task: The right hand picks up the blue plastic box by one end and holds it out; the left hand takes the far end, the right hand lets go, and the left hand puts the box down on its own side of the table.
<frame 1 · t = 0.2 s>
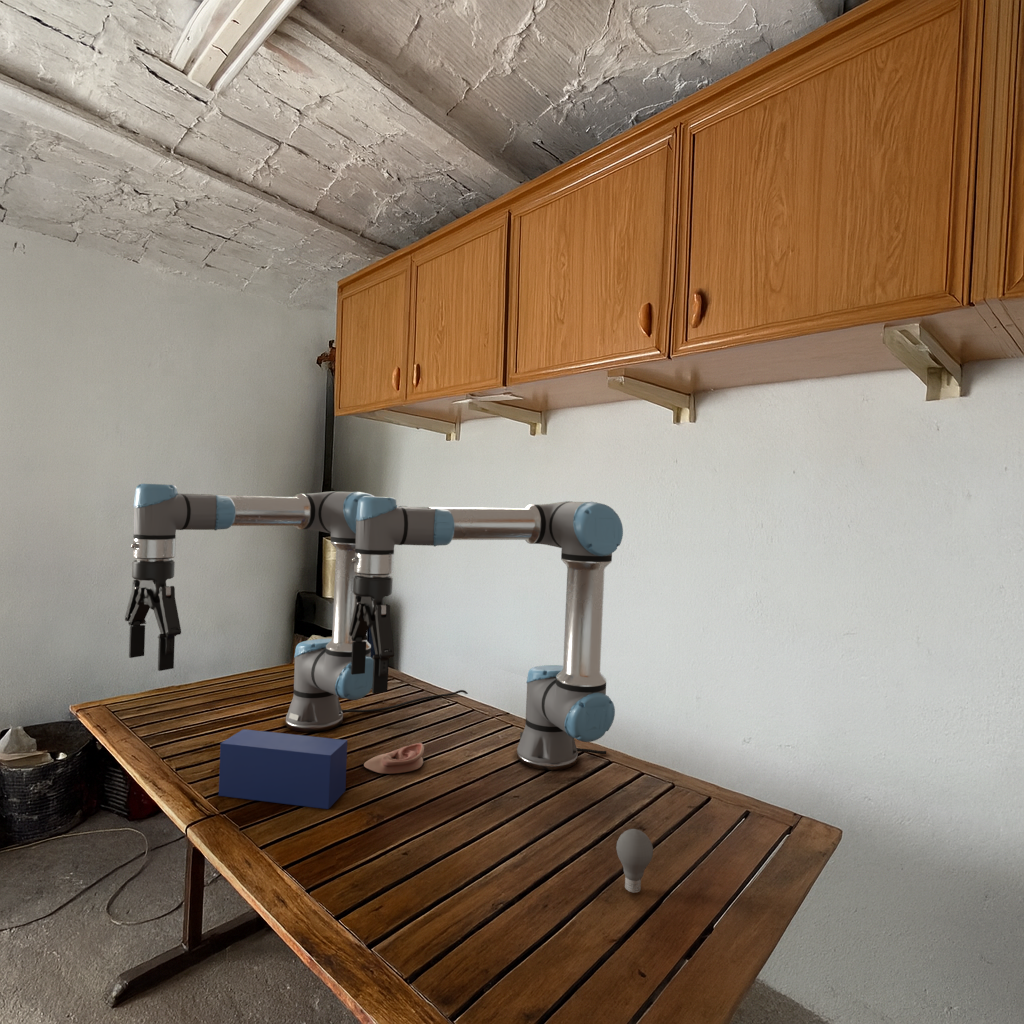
left hand: (150, 662, 130), 28 cm above the table, tool pointing down, fingers open, 13 cm apart
right hand: (368, 682, 125), 27 cm above the table, tool pointing down, fingers open, 13 cm apart
box: (283, 793, 135), on the table
light bulb: (632, 891, 106), on the table
fossil: (326, 679, 218), on the table
anatomical model: (394, 765, 151), on the table
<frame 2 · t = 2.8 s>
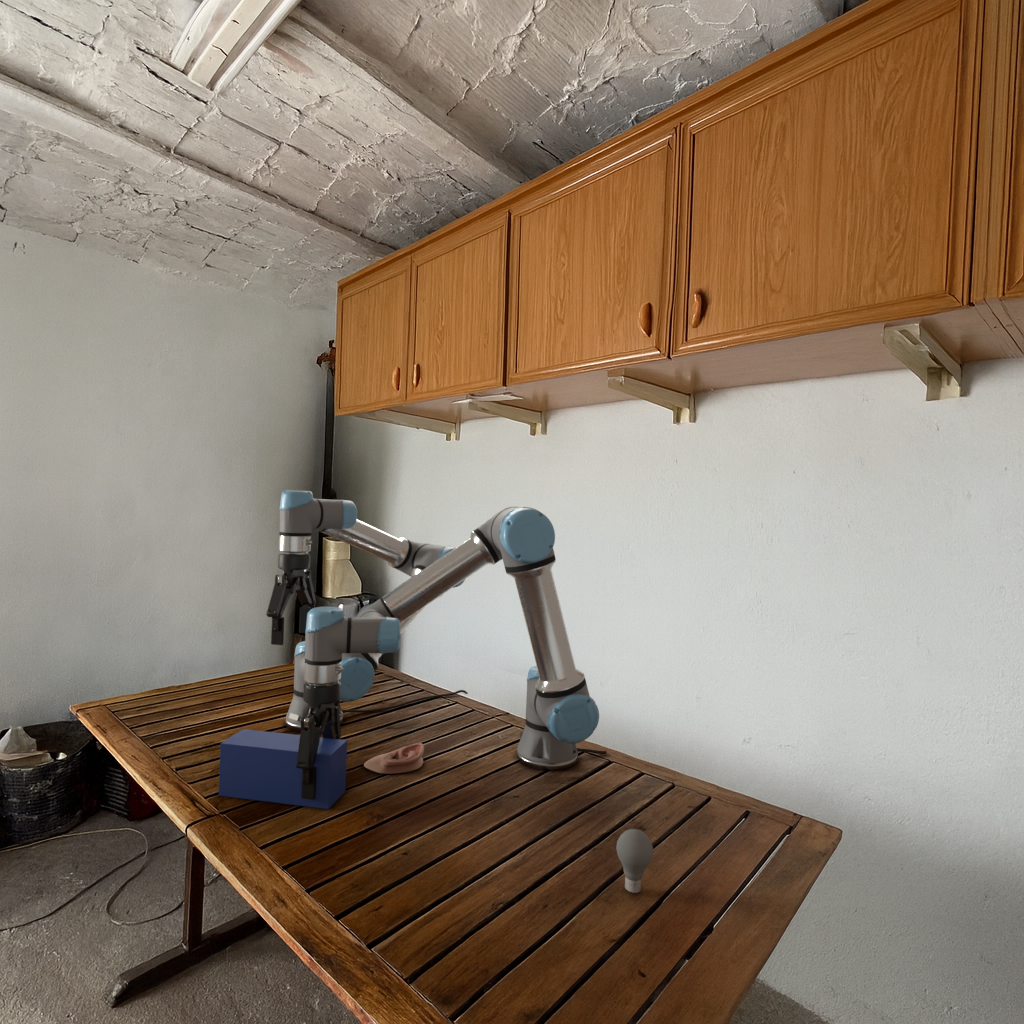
left hand: (291, 638, 157), 28 cm above the table, tool pointing down, fingers open, 13 cm apart
right hand: (318, 788, 133), 2 cm above the table, tool pointing down, fingers closed on box, 8 cm apart
box: (283, 793, 135), on the table, touching right hand
everything else where it was.
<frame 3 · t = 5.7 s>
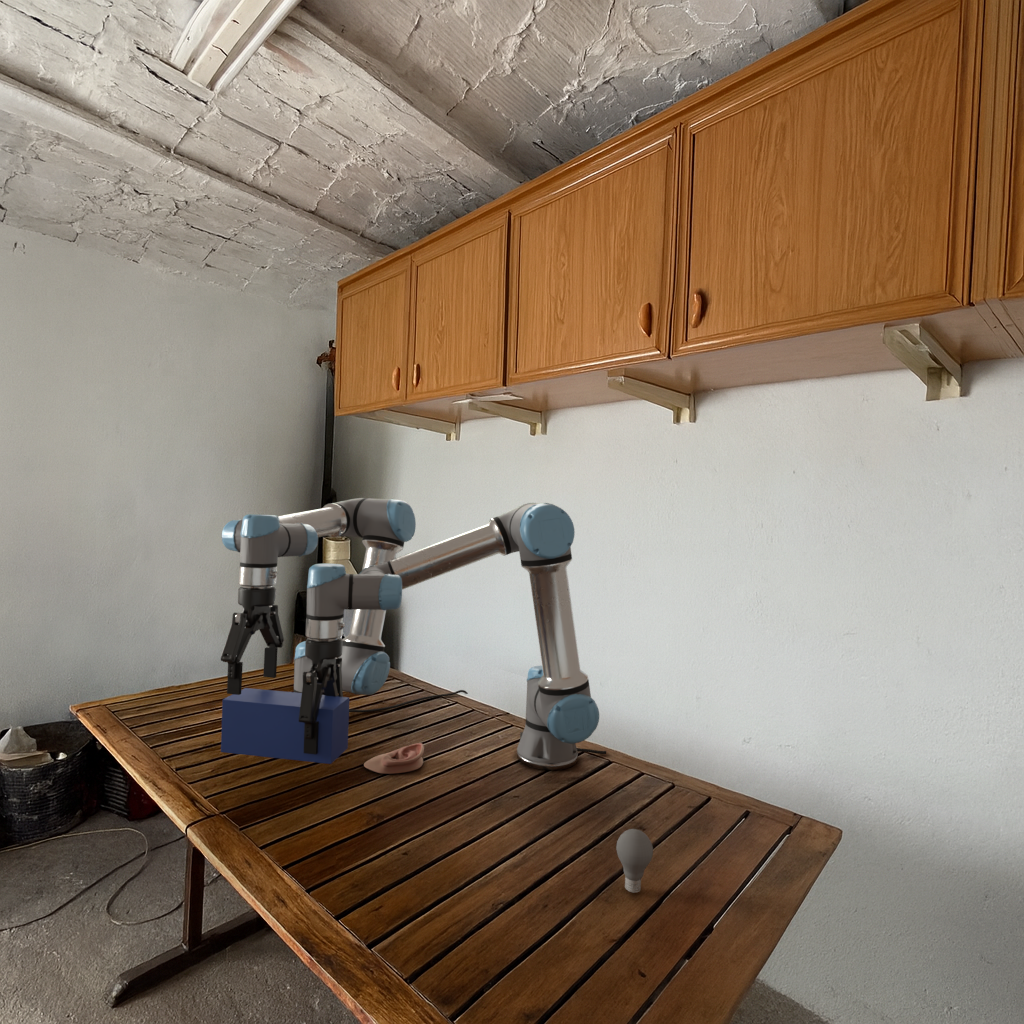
left hand: (252, 685, 136), 22 cm above the table, tool pointing down, fingers open, 13 cm apart
right hand: (320, 744, 133), 11 cm above the table, tool pointing down, fingers closed on box, 8 cm apart
box: (285, 750, 135), point 9 cm above the table, touching right hand
everything else where it was.
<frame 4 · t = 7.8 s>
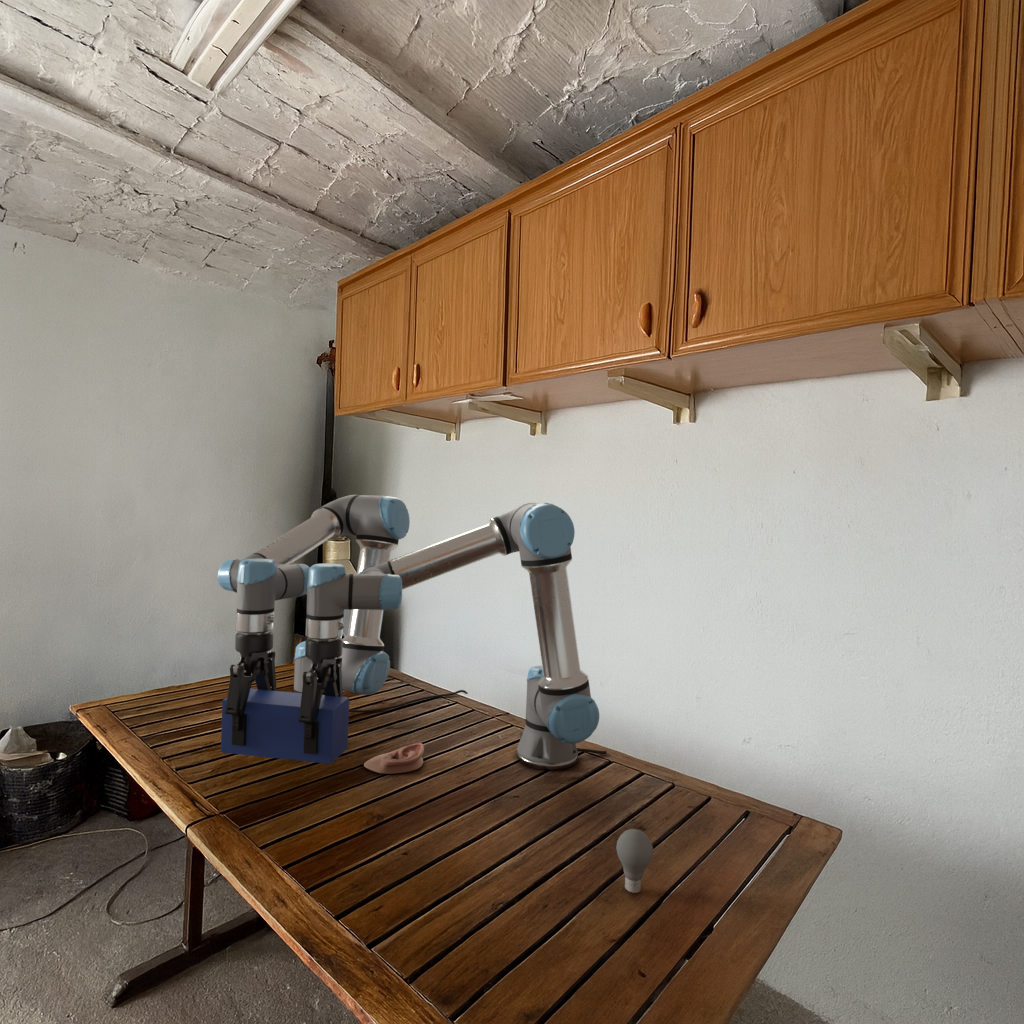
left hand: (251, 736, 136), 11 cm above the table, tool pointing down, fingers closed on box, 8 cm apart
right hand: (320, 744, 133), 11 cm above the table, tool pointing down, fingers closed on box, 8 cm apart
box: (285, 750, 134), point 9 cm above the table, touching left hand, right hand
everything else where it was.
when the right hand's fingers open (11 cm above the table, at t = 8.7 s): box stays where it is, held by the left hand.
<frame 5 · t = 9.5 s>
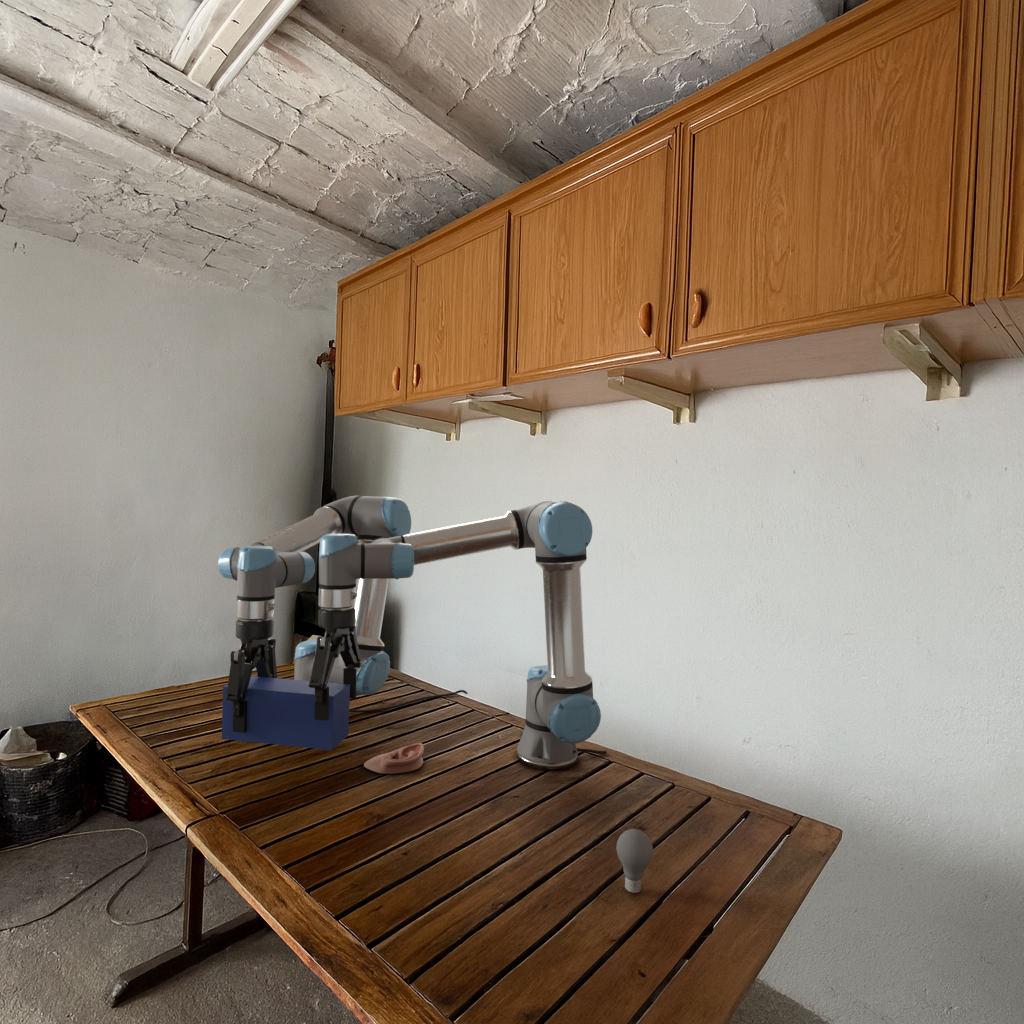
left hand: (251, 723, 136), 14 cm above the table, tool pointing down, fingers closed on box, 8 cm apart
right hand: (336, 708, 133), 19 cm above the table, tool pointing down, fingers open, 13 cm apart
box: (286, 737, 135), point 12 cm above the table, touching left hand
everything else where it was.
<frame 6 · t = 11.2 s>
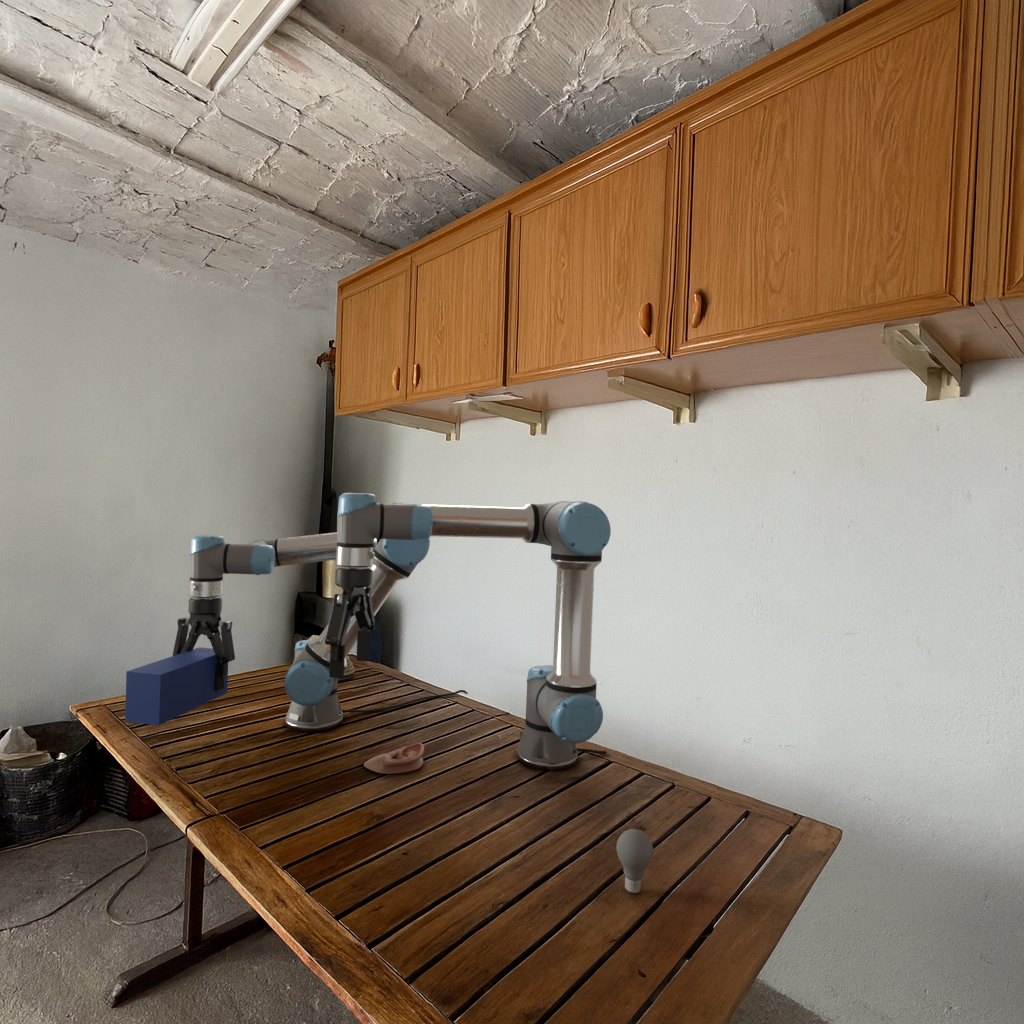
left hand: (202, 687, 158), 14 cm above the table, tool pointing down, fingers closed on box, 8 cm apart
right hand: (350, 668, 132), 28 cm above the table, tool pointing down, fingers open, 13 cm apart
box: (179, 706, 150), point 12 cm above the table, touching left hand
everything else where it was.
when the left hand's fingers open (4 cm above the table, at t = 14.6 s): box drops 1 cm, on the table.
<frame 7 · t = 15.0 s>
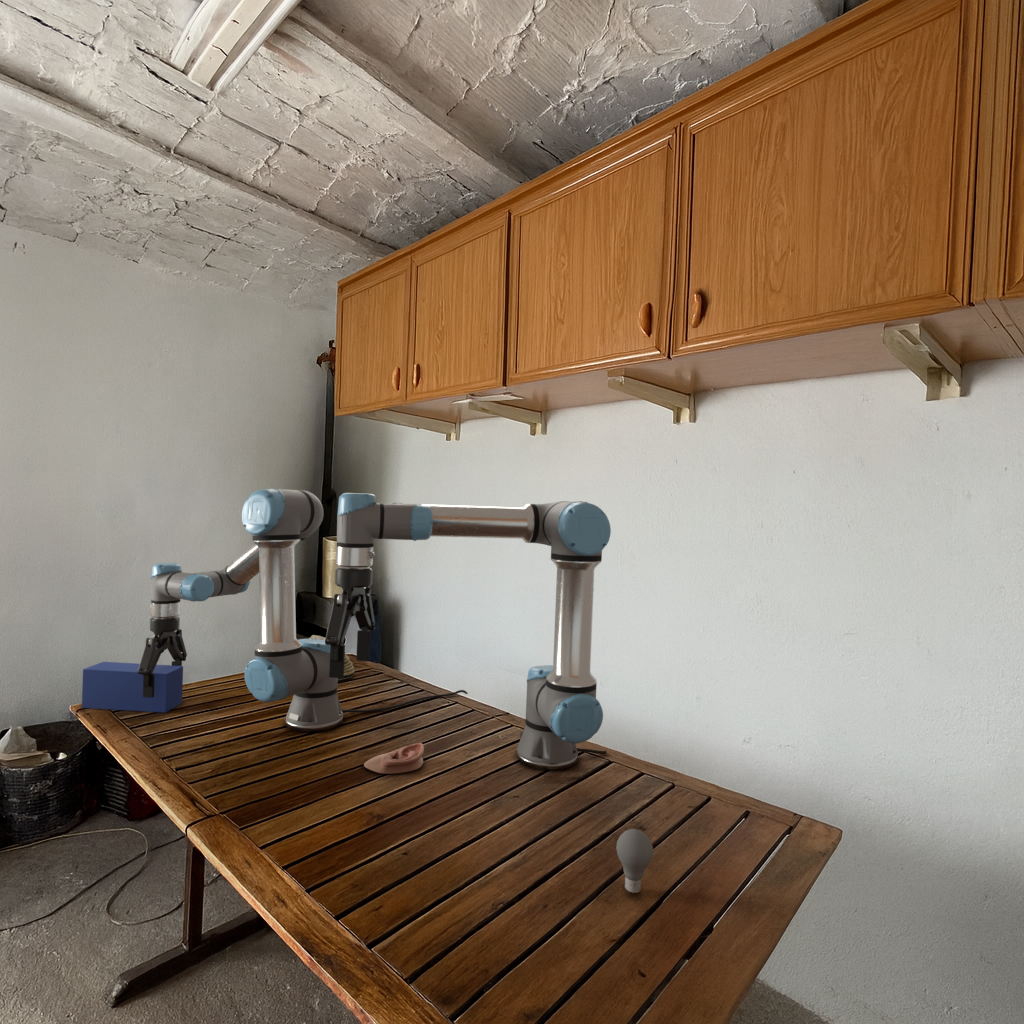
left hand: (162, 690, 183), 5 cm above the table, tool pointing down, fingers open, 13 cm apart
right hand: (350, 668, 132), 28 cm above the table, tool pointing down, fingers open, 13 cm apart
box: (132, 705, 184), on the table
everything else where it was.
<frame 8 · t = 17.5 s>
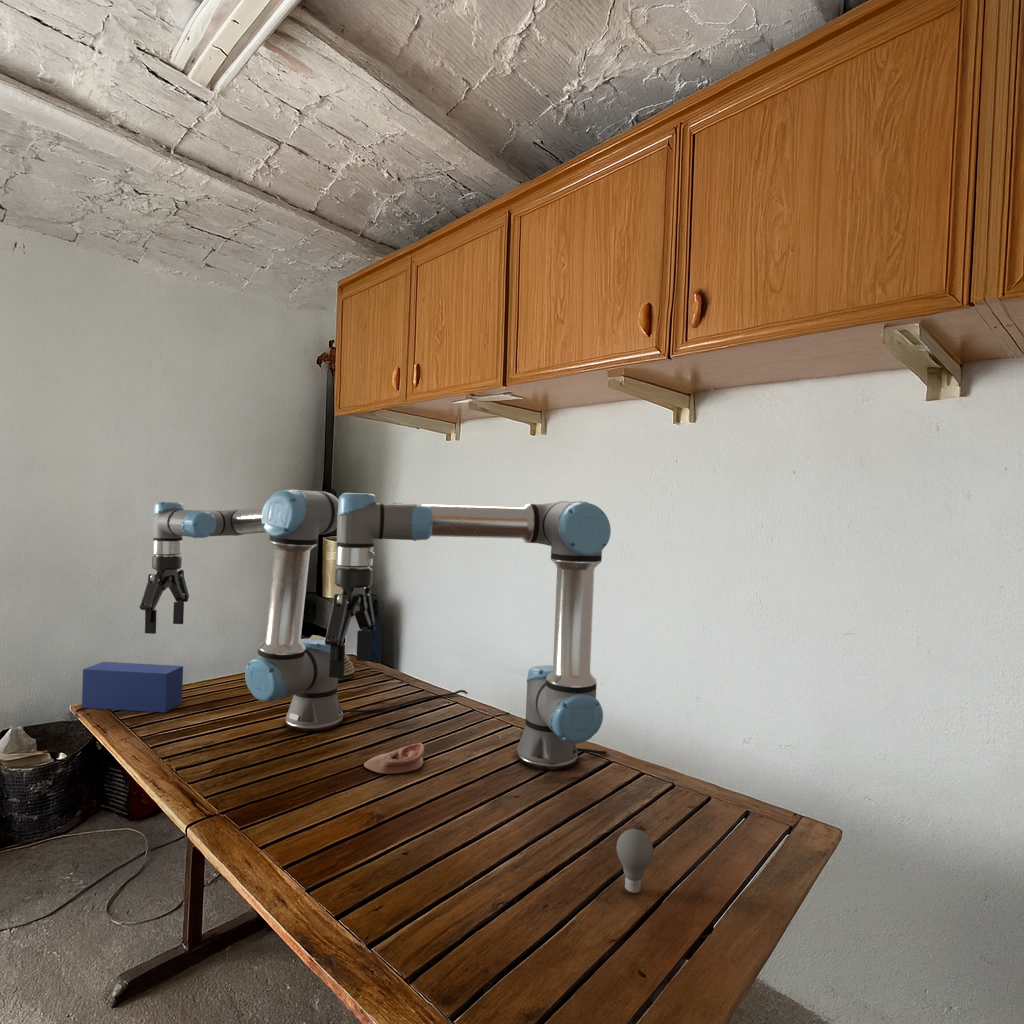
left hand: (164, 628, 183), 23 cm above the table, tool pointing down, fingers open, 13 cm apart
right hand: (350, 668, 132), 28 cm above the table, tool pointing down, fingers open, 13 cm apart
nothing on the table moved.
at the end: box inside the target area (8.7 cm from its centre), on the table; the left hand is holding nothing; the right hand is holding nothing; box at rest at the end (0.0 cm/s) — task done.
